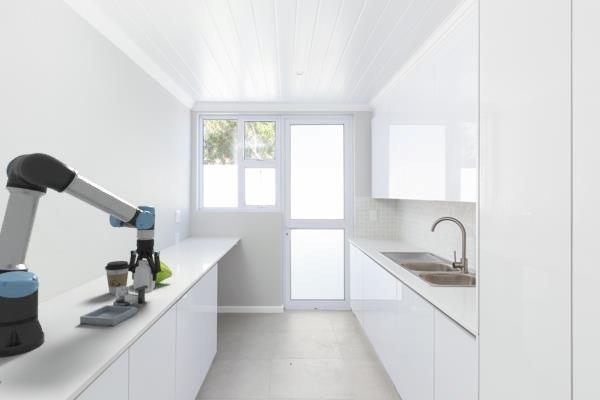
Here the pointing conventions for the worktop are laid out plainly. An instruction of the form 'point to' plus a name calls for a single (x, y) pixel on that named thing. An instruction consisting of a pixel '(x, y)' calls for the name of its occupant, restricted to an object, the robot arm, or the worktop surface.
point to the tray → (108, 315)
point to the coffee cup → (117, 275)
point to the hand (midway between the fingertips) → (144, 287)
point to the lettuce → (163, 273)
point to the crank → (130, 295)
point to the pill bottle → (143, 275)
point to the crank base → (121, 303)
